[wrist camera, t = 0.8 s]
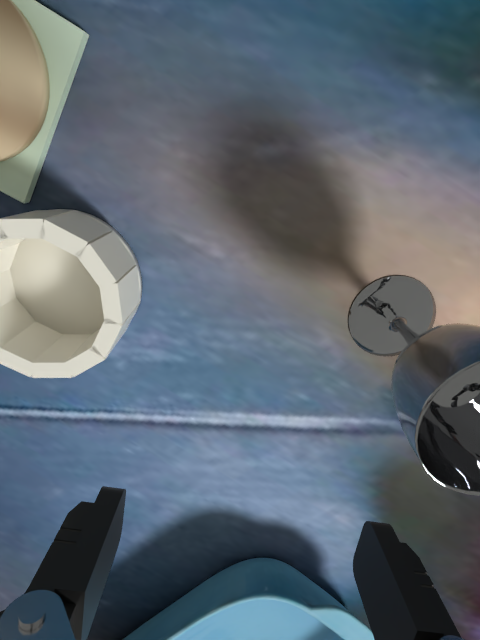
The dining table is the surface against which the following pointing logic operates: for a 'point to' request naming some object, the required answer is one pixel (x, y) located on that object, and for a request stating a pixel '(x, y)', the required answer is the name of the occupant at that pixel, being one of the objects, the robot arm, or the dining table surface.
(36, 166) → the mat
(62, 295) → the bowl
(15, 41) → the lid
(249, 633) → the casserole dish
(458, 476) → the wine glass
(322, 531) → the dining table surface
